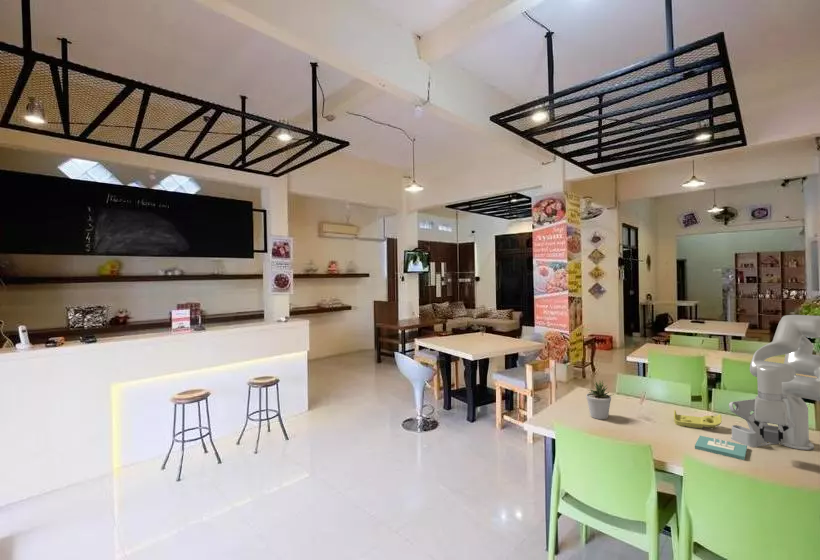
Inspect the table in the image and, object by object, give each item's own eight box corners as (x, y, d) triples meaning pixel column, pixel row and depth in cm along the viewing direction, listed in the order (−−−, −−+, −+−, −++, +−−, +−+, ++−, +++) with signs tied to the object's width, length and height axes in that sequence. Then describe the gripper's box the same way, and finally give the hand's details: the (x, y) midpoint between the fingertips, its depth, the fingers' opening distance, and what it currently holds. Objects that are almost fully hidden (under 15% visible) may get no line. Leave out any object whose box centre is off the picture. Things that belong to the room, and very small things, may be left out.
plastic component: (673, 421, 201) (674, 407, 208) (675, 431, 203) (676, 418, 211) (722, 426, 189) (721, 412, 196) (723, 438, 191) (722, 423, 198)
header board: (699, 438, 185) (699, 430, 185) (747, 448, 173) (746, 440, 173) (694, 448, 175) (694, 439, 175) (744, 460, 163) (744, 450, 163)
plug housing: (763, 441, 161) (763, 430, 161) (764, 434, 167) (764, 424, 167) (778, 444, 158) (778, 433, 158) (778, 437, 164) (778, 426, 164)
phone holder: (751, 448, 174) (750, 408, 174) (728, 438, 184) (727, 401, 184) (781, 443, 178) (780, 404, 177) (757, 434, 187) (756, 397, 187)
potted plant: (618, 420, 210) (617, 383, 210) (592, 421, 210) (591, 384, 210) (607, 412, 222) (606, 377, 222) (582, 413, 223) (582, 378, 222)
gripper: (798, 397, 159) (799, 440, 159) (744, 389, 171) (745, 430, 171) (798, 402, 153) (800, 447, 154) (742, 394, 165) (744, 436, 166)
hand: (771, 438), depth 163 cm, fingers closed on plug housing, 4 cm apart
